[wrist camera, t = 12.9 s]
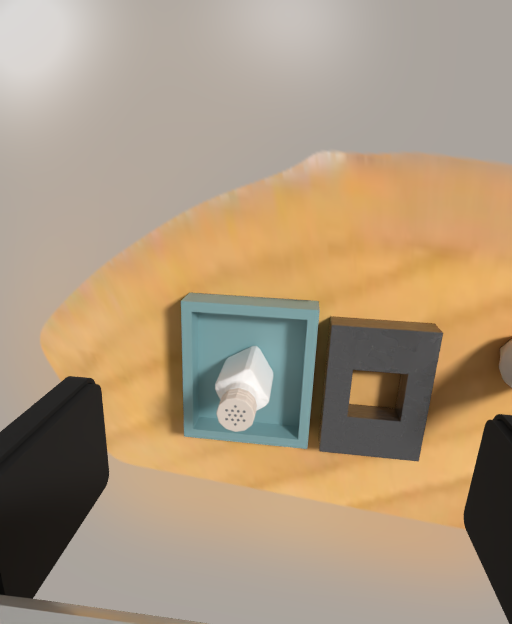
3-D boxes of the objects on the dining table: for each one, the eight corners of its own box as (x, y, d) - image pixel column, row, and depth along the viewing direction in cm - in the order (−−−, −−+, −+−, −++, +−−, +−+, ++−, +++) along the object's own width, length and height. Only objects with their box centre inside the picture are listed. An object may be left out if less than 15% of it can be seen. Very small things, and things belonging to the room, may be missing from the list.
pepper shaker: (243, 388, 43) (226, 443, 34) (224, 357, 42) (202, 405, 33) (276, 373, 42) (268, 425, 33) (257, 341, 41) (244, 386, 32)
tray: (318, 301, 40) (319, 310, 37) (307, 431, 45) (307, 448, 42) (189, 292, 41) (180, 300, 38) (191, 420, 46) (184, 436, 43)
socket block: (434, 323, 39) (443, 332, 37) (412, 446, 44) (418, 461, 41) (330, 316, 40) (331, 324, 38) (318, 436, 45) (319, 451, 42)
